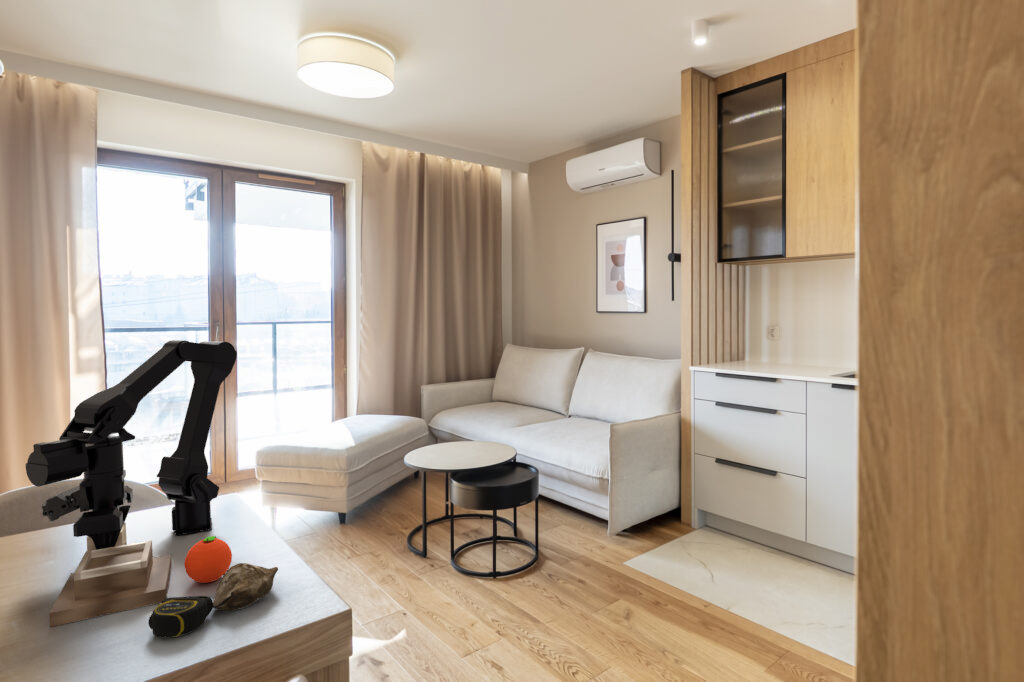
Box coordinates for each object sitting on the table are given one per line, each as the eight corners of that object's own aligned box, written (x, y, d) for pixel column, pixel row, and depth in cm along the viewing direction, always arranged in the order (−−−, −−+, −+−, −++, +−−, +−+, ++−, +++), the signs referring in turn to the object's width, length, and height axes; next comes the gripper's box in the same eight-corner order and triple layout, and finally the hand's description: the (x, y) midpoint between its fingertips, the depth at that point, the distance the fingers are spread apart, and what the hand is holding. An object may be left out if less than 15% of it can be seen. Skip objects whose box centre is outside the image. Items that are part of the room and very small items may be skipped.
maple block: (127, 554, 102) (125, 522, 102) (123, 565, 98) (121, 532, 98) (93, 560, 100) (92, 528, 100) (88, 572, 96) (86, 537, 95)
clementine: (194, 571, 96) (192, 530, 95) (238, 566, 97) (236, 526, 97) (179, 593, 88) (177, 549, 87) (227, 587, 89) (225, 544, 89)
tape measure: (216, 615, 81) (215, 590, 81) (192, 643, 75) (191, 615, 74) (167, 618, 81) (166, 593, 81) (139, 645, 74) (138, 618, 74)
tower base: (171, 565, 98) (170, 532, 97) (165, 601, 85) (164, 563, 85) (71, 585, 91) (69, 549, 91) (49, 626, 79) (47, 585, 78)
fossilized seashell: (229, 609, 78) (292, 591, 87) (221, 562, 81) (283, 549, 89) (202, 624, 82) (265, 605, 90) (196, 578, 84) (258, 564, 92)
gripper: (58, 464, 102) (63, 546, 103) (30, 491, 86) (35, 590, 87) (131, 456, 108) (135, 534, 109) (117, 480, 91) (121, 573, 92)
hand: (108, 556), depth 99 cm, fingers closed on maple block, 5 cm apart
